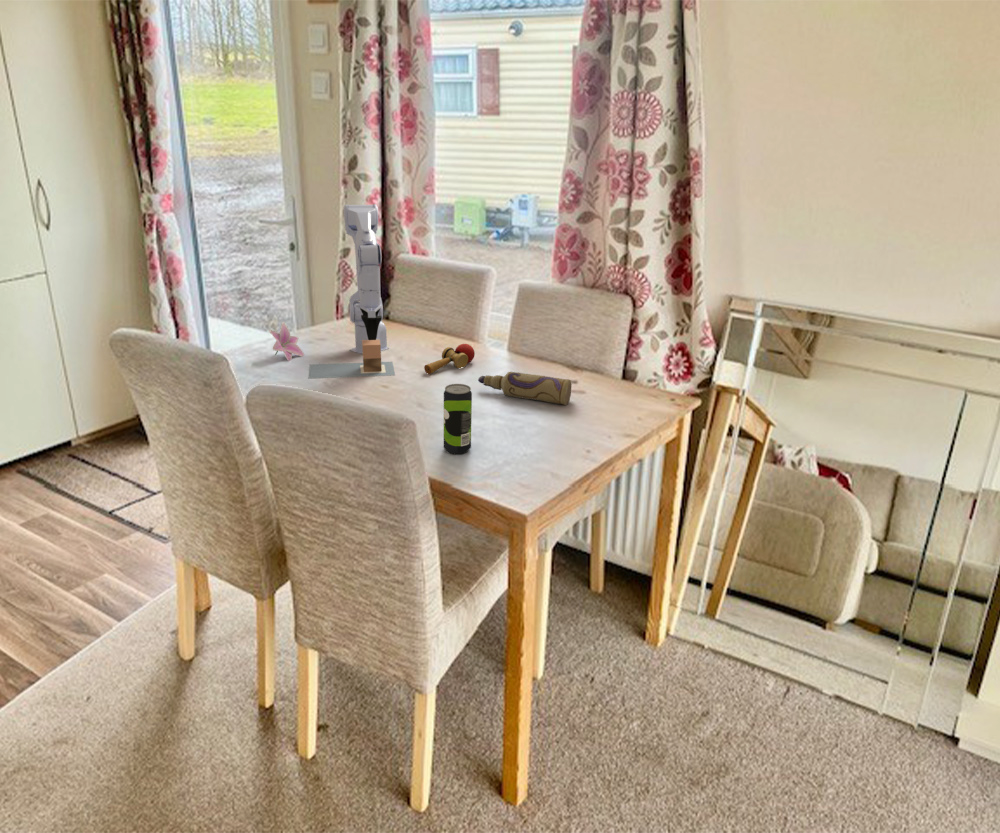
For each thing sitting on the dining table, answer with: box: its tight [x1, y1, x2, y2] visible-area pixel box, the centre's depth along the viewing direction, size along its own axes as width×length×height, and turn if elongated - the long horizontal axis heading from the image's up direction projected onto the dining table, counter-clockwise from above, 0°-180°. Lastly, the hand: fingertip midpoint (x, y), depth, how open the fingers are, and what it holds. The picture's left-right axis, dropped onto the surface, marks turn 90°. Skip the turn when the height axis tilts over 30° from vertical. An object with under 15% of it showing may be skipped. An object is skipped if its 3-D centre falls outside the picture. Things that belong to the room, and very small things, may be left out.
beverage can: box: [443, 383, 473, 455], centre depth 175 cm, size 6×6×15 cm
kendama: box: [423, 343, 476, 375], centre depth 229 cm, size 8×6×18 cm
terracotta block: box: [362, 340, 382, 360], centre depth 223 cm, size 5×5×4 cm
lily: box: [269, 321, 305, 362], centre depth 232 cm, size 12×12×10 cm
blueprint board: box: [308, 361, 396, 380], centre depth 224 cm, size 24×12×1 cm, turn 101°
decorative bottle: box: [477, 371, 573, 406], centre depth 209 cm, size 26×8×7 cm, turn 69°
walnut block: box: [362, 357, 382, 372], centre depth 225 cm, size 5×5×4 cm
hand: (371, 335), depth 222 cm, fingers open, 7 cm apart
